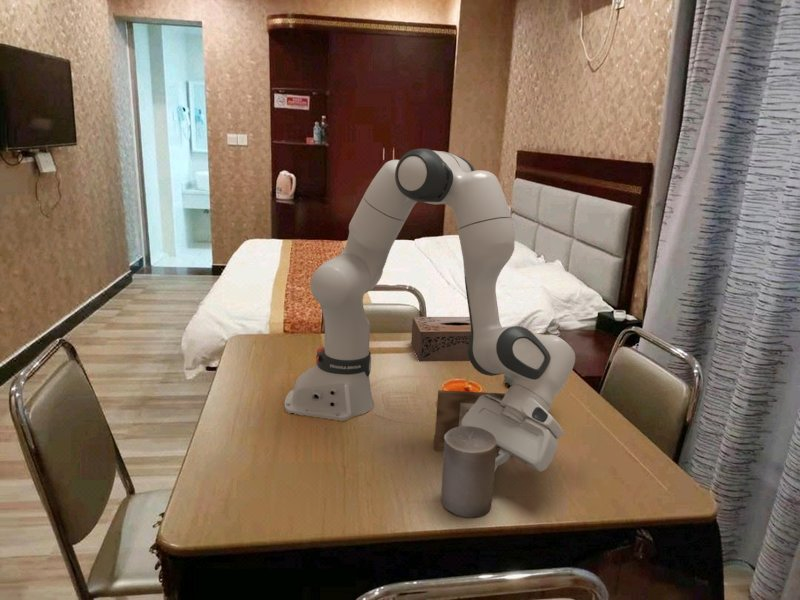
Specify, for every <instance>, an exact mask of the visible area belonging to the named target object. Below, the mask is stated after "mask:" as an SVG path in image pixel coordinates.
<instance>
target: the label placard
mask: <svg viewBox="0 0 800 600" xmlns="http://www.w3.org/2000/svg"><path fill="white" fill-rule="evenodd" d="M485 394H492V395H494V396H495V397H498V398H500V399H503V397H504V396H505V394H506V393H499V392H480V391H462V390H461V391H460V390H444V389H443V390H440V389H438V390H437V402H436V413H435V414H436V416H435V417H436V418H435V429H434V430H435V431H434V436H433V437H434V438H433V443H434V451H435V452H444V443H445V439H444V437H445V436H444V435H445V434H446V433H447V432H448V431H449V430H451V429H453V428H456V427H461V426H462V419H463V417H464V416H465V414H466V413H467V412H468V411H469V409H470V408H471V407H472V406H473V405H474V404H475V403H476V401H477V400H478V398H479V397H480V396H481V395H485ZM485 397H487V396H485ZM499 451H500V450H499V449H498V448H496V455H500V454H499Z"/></svg>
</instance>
